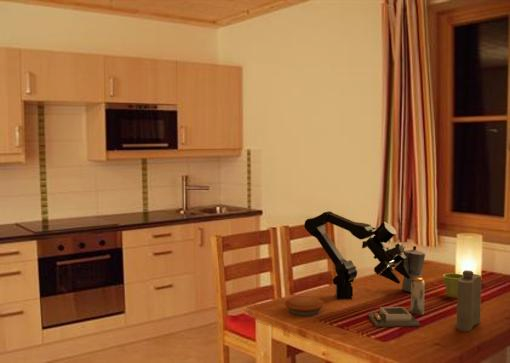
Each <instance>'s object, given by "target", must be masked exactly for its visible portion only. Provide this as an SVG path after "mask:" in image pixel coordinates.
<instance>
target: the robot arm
mask: <svg viewBox="0 0 510 363" xmlns="http://www.w3.org/2000/svg"><path fill="white" fill-rule="evenodd" d="M327 223H329V224H332V225H334V226H336V227H338V228H341V229H343V230H346V231H348V232H349V233H350V234H351V235H352V236H354V237H355V238H356V239H359V240H360V241H361V240H363V241H362V242H361V244H362V245H361V246H362V247H361V248H362V249H366V248H368V249H369V251H370V252H371V253H372V254H373V255H374V256H373V259H374V260H376V259H377V260H378V264H377V265H376V266H375V267H374V269H373V271H374V273H375V275H377V276H378V275H379V276H382V277H384V278H385V279H388V280H389V281H392V282H394V283H395V284H397V285H399V284H400V283H401V281H400V279H399V278H398V276H397V275H396V273H395V271H396V272H398V273H399V274H400V275H401V276H403V278H404V277H406V278H407V279H409V278H410V276H409V273H408V271H407V269H406V266H405V262H406V258H407V257H406V256H405V255H404V252H405V251H406V250H405V248H406V247H405V246H404V245H403V244H402V243H401V242H398V243H397V244H395V245H394V247H392V248H390V247H389V246H386V245H385V244H387V243H388V242H389V241H391V239H392V238H394V236H395V235H397V231H396V228H395V227H394V226H393V225H391V224H389V223H387V222H386V221H383V222H381V223H380V225H379V226H378V227H377V228H376V227H373V226H372V225H371V224H369V223H364V222H357V221H354V220H350V219H348V218H346V217H345V216H344V217H343V216H342V215H341V216H340V215H338V214H337V213H334V212H332V211H325V212H322V213H321V214H319V215H317V216H314V217H311V218H310V217H309V218H307V219H306V220H305V221H304V225H303V226H304V229H305V230H306V231H307V232H308V233H309V235H311V236H312V237H314V238H315V239H316V240H317V242H318V243H319V244H320V246H321V247H322V249H323V250H324V251H325V253H326V255H327V256H328V258H329V259H330V261H332V264H333V265H334V267H335V268H334V269H335V273H336V275H335V277H334V278H332V282H333V285H334V286H335V293H334V296H335V298H336V299H337V300H353V296H354V292H353V291H354V290H353V288H354V287H353V286H352V283H354V280H355V279H356V278H357V275H358V270H357V266H356V265H354V263H353V261H352V260H346V258H344V257H343V256H342V253H341V252H340V251H339V249H338V248H337V246H336V245H335V243H334V242H333V240H332V239H331V238H330V236H329V234H327V231H326V224H327ZM365 239H366V240H365ZM394 270H395V271H394Z"/></svg>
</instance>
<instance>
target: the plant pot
mask: <svg viewBox="0 0 510 363" xmlns="http://www.w3.org/2000/svg"><path fill="white" fill-rule="evenodd" d="M462 276H463V274H460V273H444V274H443V275H442V277H443V280H444V285H445V292H446V296H448V297H450V298H457V281H458V279H459V278H460V277H462Z"/></svg>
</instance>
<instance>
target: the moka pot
mask: <svg viewBox="0 0 510 363" xmlns="http://www.w3.org/2000/svg"><path fill="white" fill-rule="evenodd" d="M412 248H413V249H408V250H404V251H405V252H404V253H403V254H404V255H405V256H406V257H407V258H406V262H405V266H406V269H407V271H408V273H409V276H410V278H409V279H407V278H406V277H404V276H403V279H402V280H403V281H402V285H401V290H402V291H404V292H409V293H411V279H413V277H422V271H423V268H424V263H425V257H426V254H425V252H424V251H421V250H418V249H417V246H415V245H414V246H412Z"/></svg>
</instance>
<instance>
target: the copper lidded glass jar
mask: <svg viewBox="0 0 510 363" xmlns="http://www.w3.org/2000/svg"><path fill="white" fill-rule="evenodd" d="M425 282H426V281H425V279H424V277H422V276H421V277H413V279H411V292H410V314H411V315H417V316H421V315H422V316H423V315H424V314H425Z"/></svg>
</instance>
